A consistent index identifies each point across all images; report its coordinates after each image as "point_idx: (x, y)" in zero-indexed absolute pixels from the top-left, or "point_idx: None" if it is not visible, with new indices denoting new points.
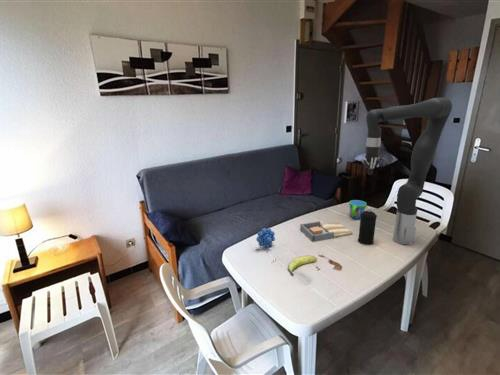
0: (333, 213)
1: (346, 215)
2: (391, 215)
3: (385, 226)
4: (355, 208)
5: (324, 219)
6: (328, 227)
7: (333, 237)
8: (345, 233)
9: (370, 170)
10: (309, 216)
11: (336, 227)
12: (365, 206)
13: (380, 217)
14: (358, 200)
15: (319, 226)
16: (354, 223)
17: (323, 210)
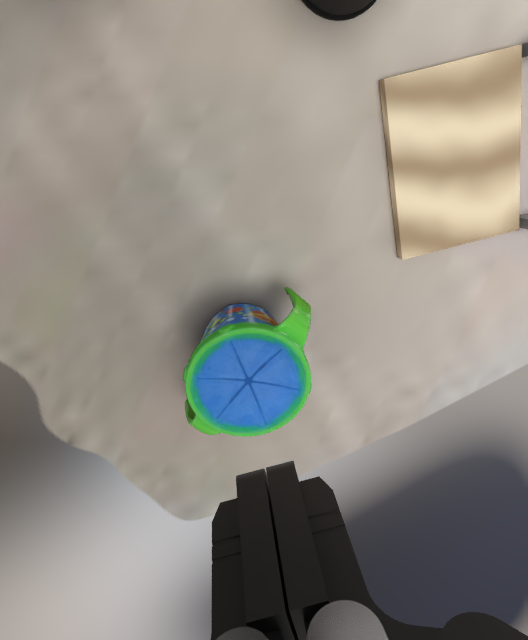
0: (356, 388)
1: None
2: (4, 340)
3: (108, 178)
4: (294, 312)
5: (443, 314)
6: (494, 179)
7: (522, 44)
8: (436, 72)
9: (317, 554)
10: (503, 358)
11: (447, 173)
12: (205, 338)
13: (90, 316)
14: (224, 428)
15: (524, 215)
16: (294, 244)
17: (393, 428)
